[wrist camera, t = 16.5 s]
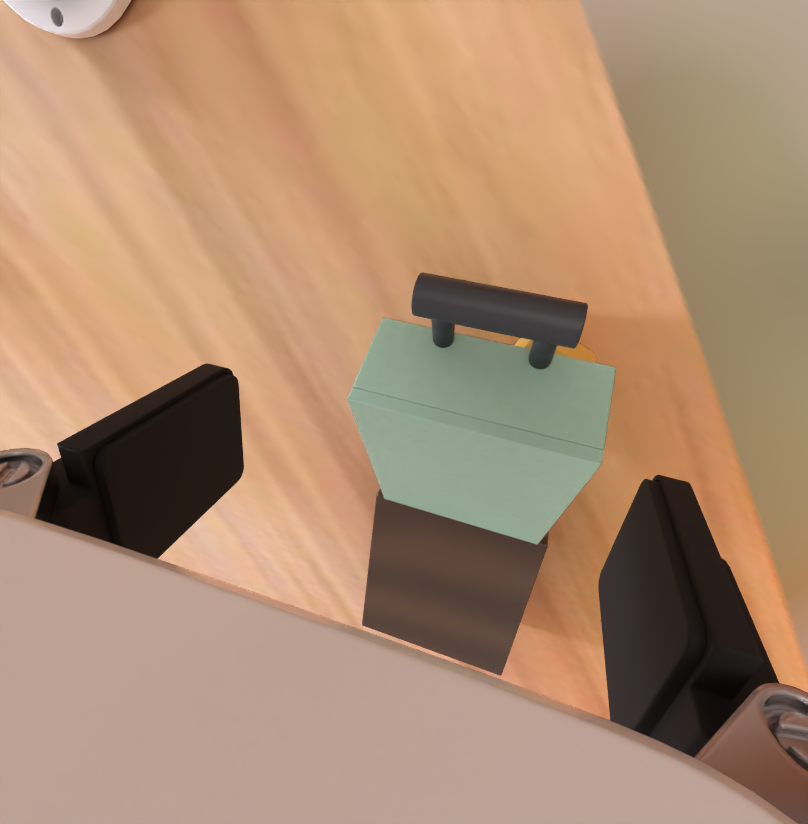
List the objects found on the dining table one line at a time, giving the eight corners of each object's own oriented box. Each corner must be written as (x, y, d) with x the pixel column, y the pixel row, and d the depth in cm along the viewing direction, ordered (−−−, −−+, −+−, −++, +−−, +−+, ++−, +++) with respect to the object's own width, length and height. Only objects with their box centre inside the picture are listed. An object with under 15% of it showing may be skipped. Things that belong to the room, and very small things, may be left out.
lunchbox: (384, 498, 30) (406, 436, 32) (537, 544, 28) (551, 475, 30) (328, 351, 16) (374, 254, 18) (635, 423, 14) (649, 304, 16)
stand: (399, 455, 35) (376, 494, 30) (550, 497, 32) (547, 545, 28) (383, 578, 41) (361, 625, 37) (508, 621, 39) (501, 676, 34)
